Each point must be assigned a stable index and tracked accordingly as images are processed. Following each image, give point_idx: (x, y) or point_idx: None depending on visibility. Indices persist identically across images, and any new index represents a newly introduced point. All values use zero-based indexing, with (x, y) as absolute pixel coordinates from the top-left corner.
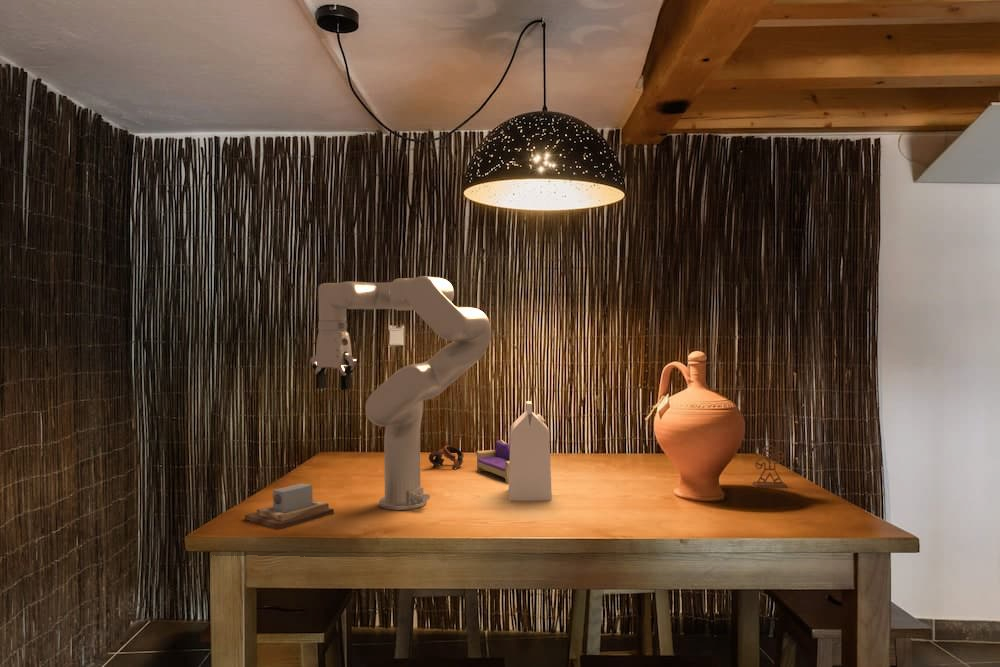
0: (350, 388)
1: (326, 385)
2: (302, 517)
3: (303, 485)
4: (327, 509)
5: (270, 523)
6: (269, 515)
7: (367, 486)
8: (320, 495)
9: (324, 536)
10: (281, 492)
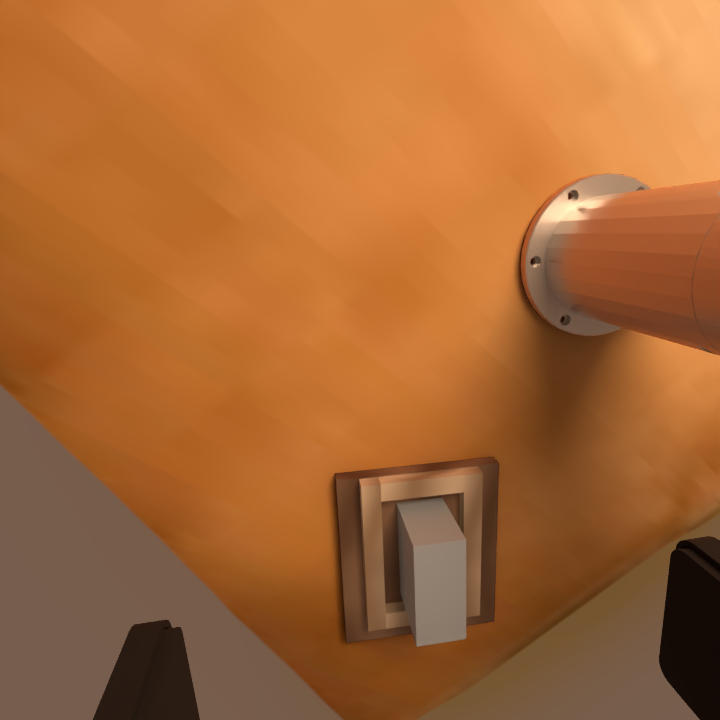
0: (712, 538)
1: (175, 646)
2: (492, 559)
3: (445, 559)
4: (486, 476)
5: None
6: None
7: (296, 142)
8: (273, 353)
9: (616, 573)
10: (456, 638)
